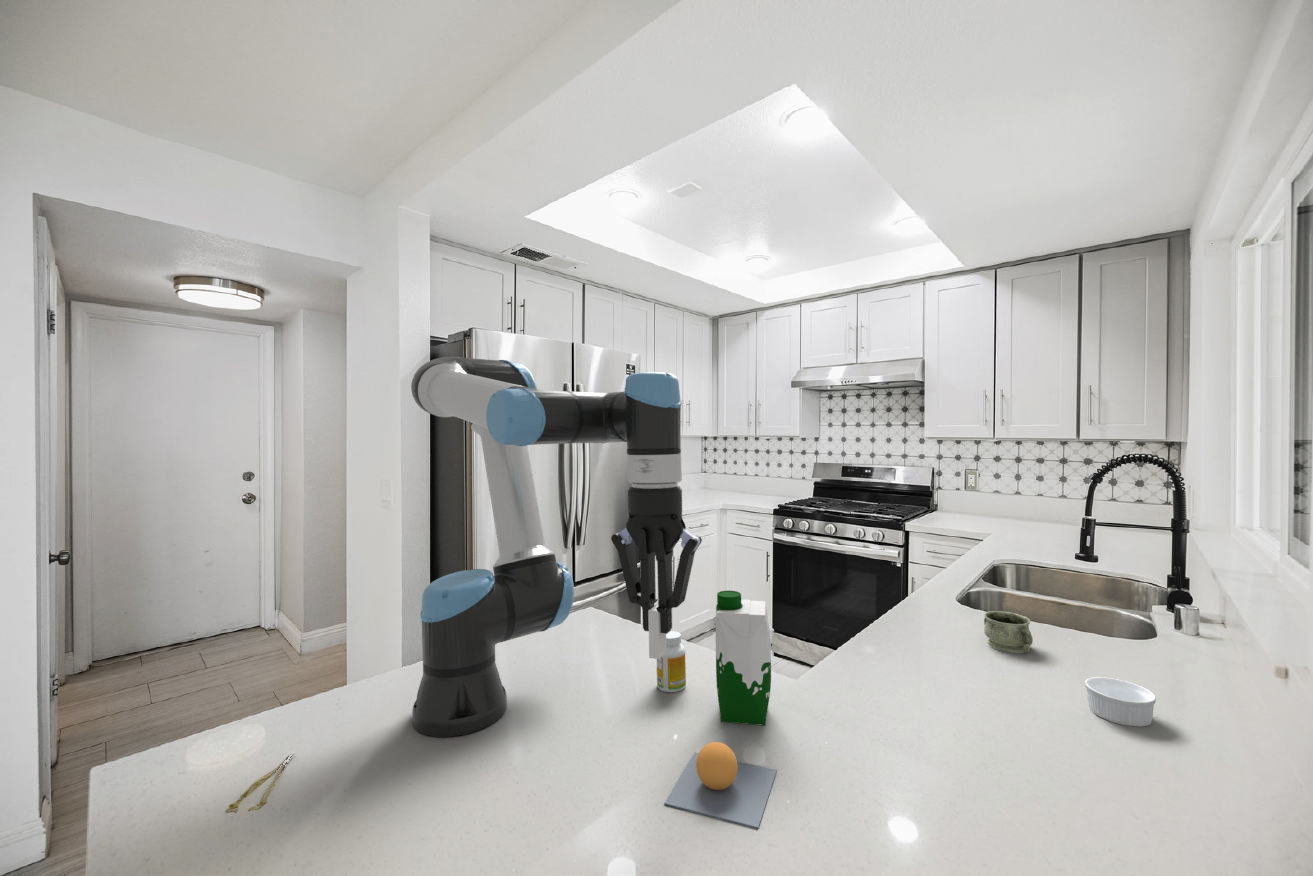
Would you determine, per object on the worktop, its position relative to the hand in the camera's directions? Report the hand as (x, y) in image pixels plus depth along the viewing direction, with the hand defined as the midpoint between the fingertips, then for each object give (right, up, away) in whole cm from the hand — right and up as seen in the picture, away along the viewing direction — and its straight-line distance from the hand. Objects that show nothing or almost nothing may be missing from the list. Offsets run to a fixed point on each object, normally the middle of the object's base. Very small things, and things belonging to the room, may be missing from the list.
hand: (657, 654), depth 77 cm
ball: (+8, -14, -3) cm, 16 cm away
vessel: (+75, -15, +42) cm, 88 cm away
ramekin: (+75, -15, +13) cm, 78 cm away
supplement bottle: (+3, -16, +26) cm, 31 cm away
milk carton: (+14, -16, +16) cm, 27 cm away
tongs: (-54, -18, 0) cm, 57 cm away
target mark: (+9, -16, -3) cm, 19 cm away
